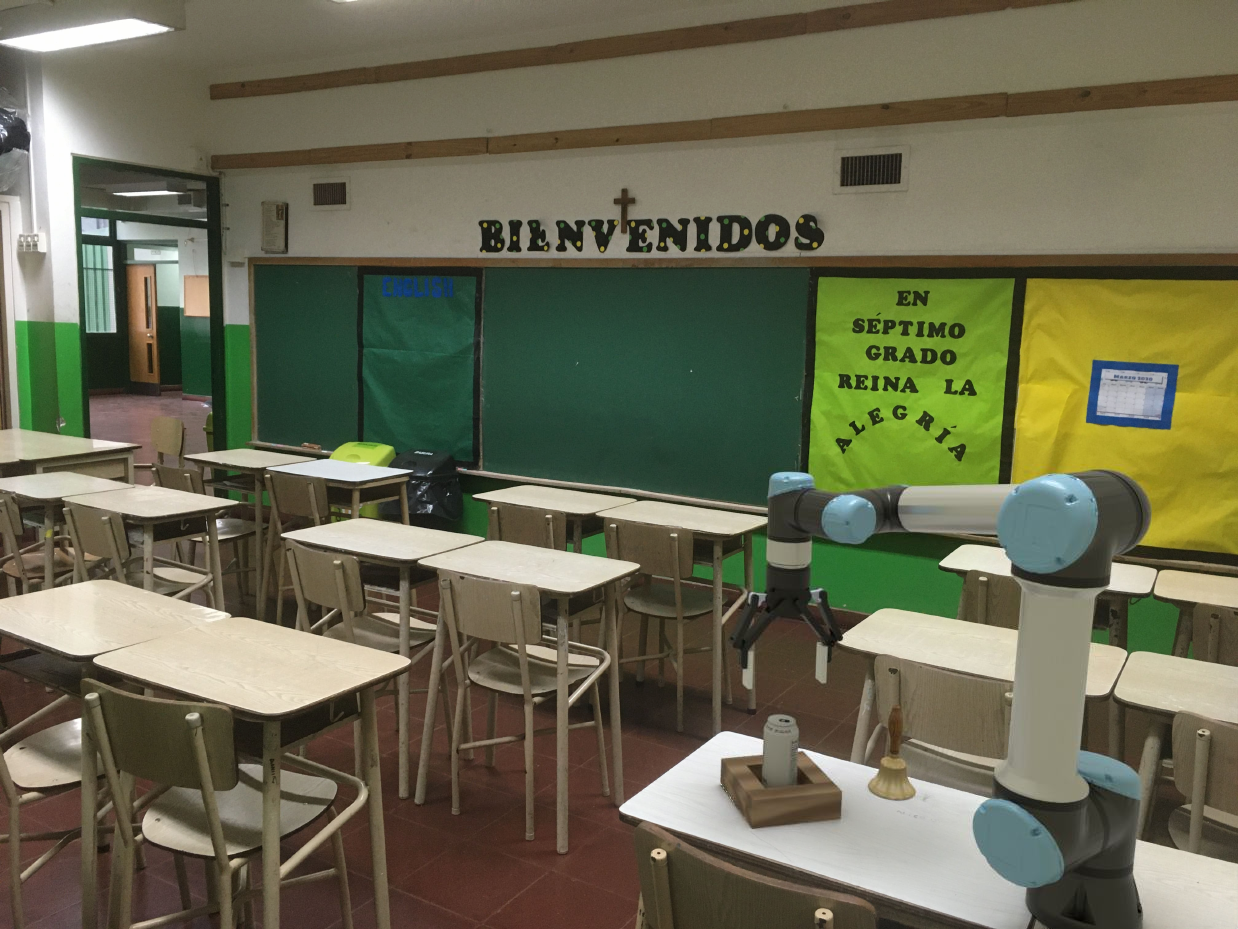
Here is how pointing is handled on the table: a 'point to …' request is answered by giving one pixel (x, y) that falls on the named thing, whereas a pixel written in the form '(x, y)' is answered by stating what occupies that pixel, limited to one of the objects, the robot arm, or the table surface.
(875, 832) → the table surface
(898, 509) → the robot arm
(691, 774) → the table surface
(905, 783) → the hand bell
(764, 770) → the energy drink can
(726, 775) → the square wooden frame
